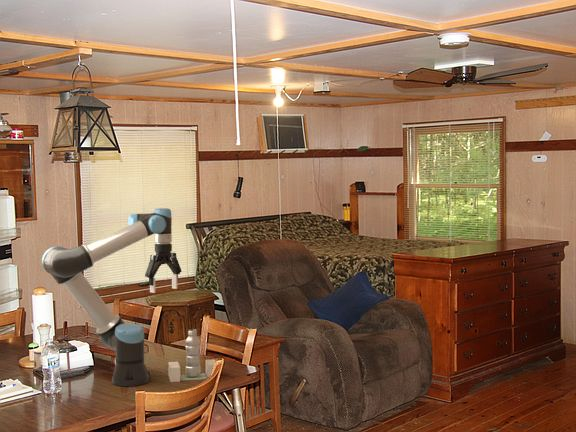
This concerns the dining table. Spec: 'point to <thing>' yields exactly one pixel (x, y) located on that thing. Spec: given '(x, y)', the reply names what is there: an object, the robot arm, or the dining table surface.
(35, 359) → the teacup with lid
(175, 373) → the gap blocks
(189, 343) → the plastic bottle
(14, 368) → the dining table surface
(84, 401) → the dining table surface
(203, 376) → the gap mat
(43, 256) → the robot arm
